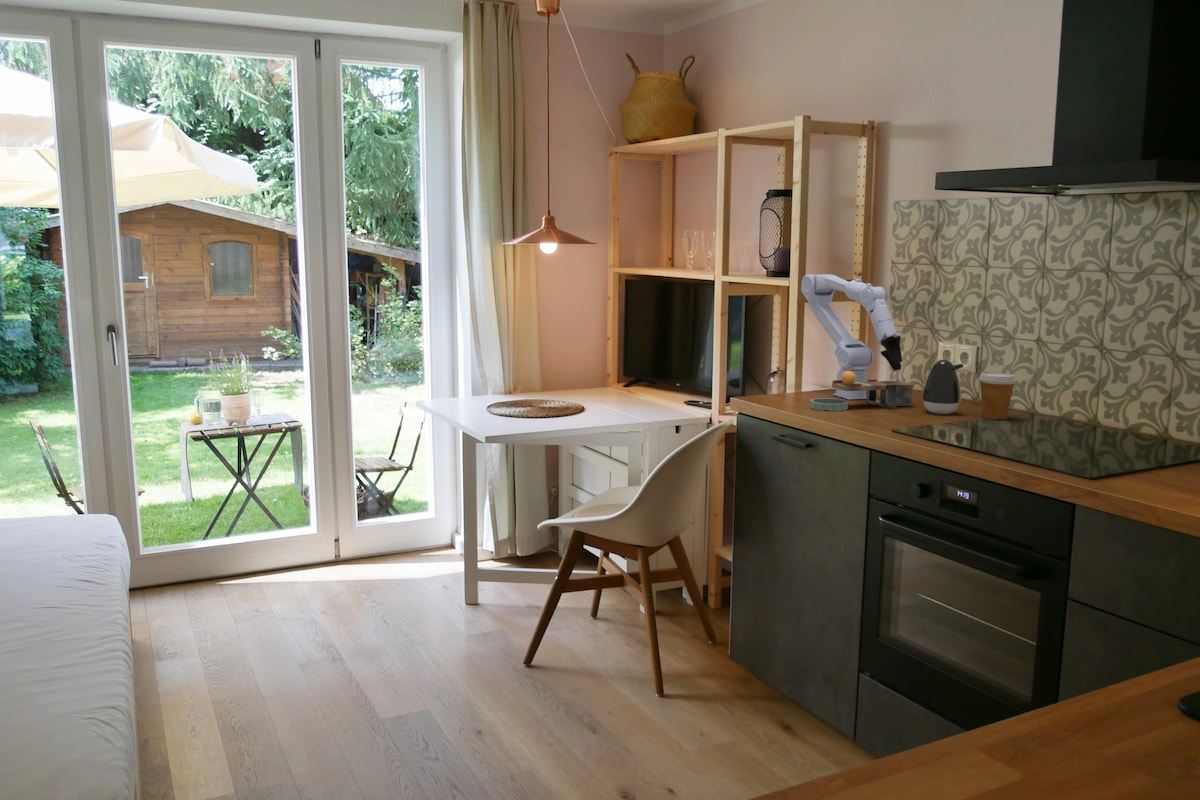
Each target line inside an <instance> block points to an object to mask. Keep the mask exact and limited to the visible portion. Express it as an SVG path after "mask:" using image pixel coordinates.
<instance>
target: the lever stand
mask: <svg viewBox="0 0 1200 800" xmlns="http://www.w3.org/2000/svg"><path fill="white" fill-rule="evenodd" d="M874 381H878V380H877V378H876V379H875V378H871V379H867V382H874ZM866 396H867V399H866V402H868V403H867V404H869V403H871V404H870V405H873V404H875V405H874V406H876V405H878V406H877V407H879V406H881V408H883V407H884V408H883V409H886V408H887V410H889V409H888V408H897V407H896V406H910V407H912V403H909V404H895V397H896V384H887V385H886V402H884V401H880V399H879V400H878V399H877V390H866Z"/></svg>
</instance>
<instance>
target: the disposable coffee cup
mask: <svg viewBox="0 0 1200 800" xmlns="http://www.w3.org/2000/svg"><path fill="white" fill-rule="evenodd" d="M978 380H979V382H980V398H981V399H980V400H981V412H982V413H981V415H982V418H985V419H987V420H988V419H989V420H997V419H1002V420H1006V419H1008V415H1009V414H1008V413H1009V409H1010V406H1011V405H1010V404H1011V399H1012V395H1013V391H1014V386H1015V384H1016V381H1017V379H1016V376H1015V374H1013V373H1004V372H991V371H990V372H989V371H988V372H981V373H980V375H979V377H978Z"/></svg>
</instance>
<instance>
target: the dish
mask: <svg viewBox="0 0 1200 800" xmlns="http://www.w3.org/2000/svg"><path fill="white" fill-rule="evenodd" d="M809 408H810V409H812V408H813V409H812V410H815V409H817V410H816V411H821V410H829V411H828V412H841V411H840V410H844V411H848V410H849V401H848V400H847V399H845V400H844V399H840V398H832V397H830V398H829V397H820V398H816V397H815V398H810V401H809ZM847 409H848V410H847Z"/></svg>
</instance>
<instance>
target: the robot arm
mask: <svg viewBox="0 0 1200 800" xmlns="http://www.w3.org/2000/svg"><path fill="white" fill-rule="evenodd" d="M800 285H801V286H800V287H801V288H800V292H801V293H802V294H803V296H804V298H805V299H806V301H807V303H808V305H809V309H810V311H811V312H812V314H813V315H814V317H815V318H816V319H817V320H818V322H819V323H820V325H821V327H822V328H823V329H824V331H825V333H826V334H828V336H829V338H830V339H831V340H832V342H833V344H834V345H835V346H836V348H835V350H834V355H835V357H836V359H837V363H838V365H839V367H840V369H839V370H838V372H837V373H836V380H842V375H843V373H844V372H846V371H851V372H853V373H854V374H855V376H856V380H855V382H867V376H868V375H867V373H868V370H869V369H870V366H871V365H872V364H873V362H874V352H873V350H872V349H871V347H869V346H866V344H864V342H863V341H860V340H858V339H856V338H854V337H853V336H852V334H851V333H850V332H849V331H848V329H847V327H846V326H845V324H843V322H842V321H841V319H840V318H839V317H838V315H837V314H836V312H835V311H834V309H832V308H833V307H831V306H830V304H831V303H832V301H833V297H834V293H835V291H839V292H843V293H845V296H846V297H847V298H848V299H851V300H854V301H856V302H859V303H860V306H862V307H863V308H864V309H865V311H866V312H867V313H868V315H869V319H870V320H871V324H872V326H873V327H872V328H873V330H874V332H875V336H876V339H877V343H878V345H881V346H882V347H883V348H884V350H882V351H880V355H881V356H882V357H883V358H884V359H885V360H886V361H887V363H888V364H889V365H890V368H891V369H892V370H893V372H895V371H898V370H901V369H902V364H901V363H902V361H903V358H902V357H903V355H902V350H901V337H903V334H902V332H897V329H896V326H895V323H894V321H893V318H892V315H891V312H890V310H889V307H888V304H887V301H888V291H887V290H886V288H884V287H883V286H882V285H881V286H880V285H879V286H873V284H872V283H865V282H863V281H862V279H861V278H860V279H859V278H856V279H853V280H851V281H849V280H845V279H843V278H842V277H839V276H837V275H836V274H835V275H834V274H831V273H826V274H825V273H824V274H811V273H807V274H805V275H804V276H803V277H802V280H801V283H800ZM832 394H833V396H835V395H836V397H839V398H842V397H843V399H845V398H846V399H845V400H865V399H866V400H867V390H864V391H844V390H840V389H837V388H835V393H832Z"/></svg>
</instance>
